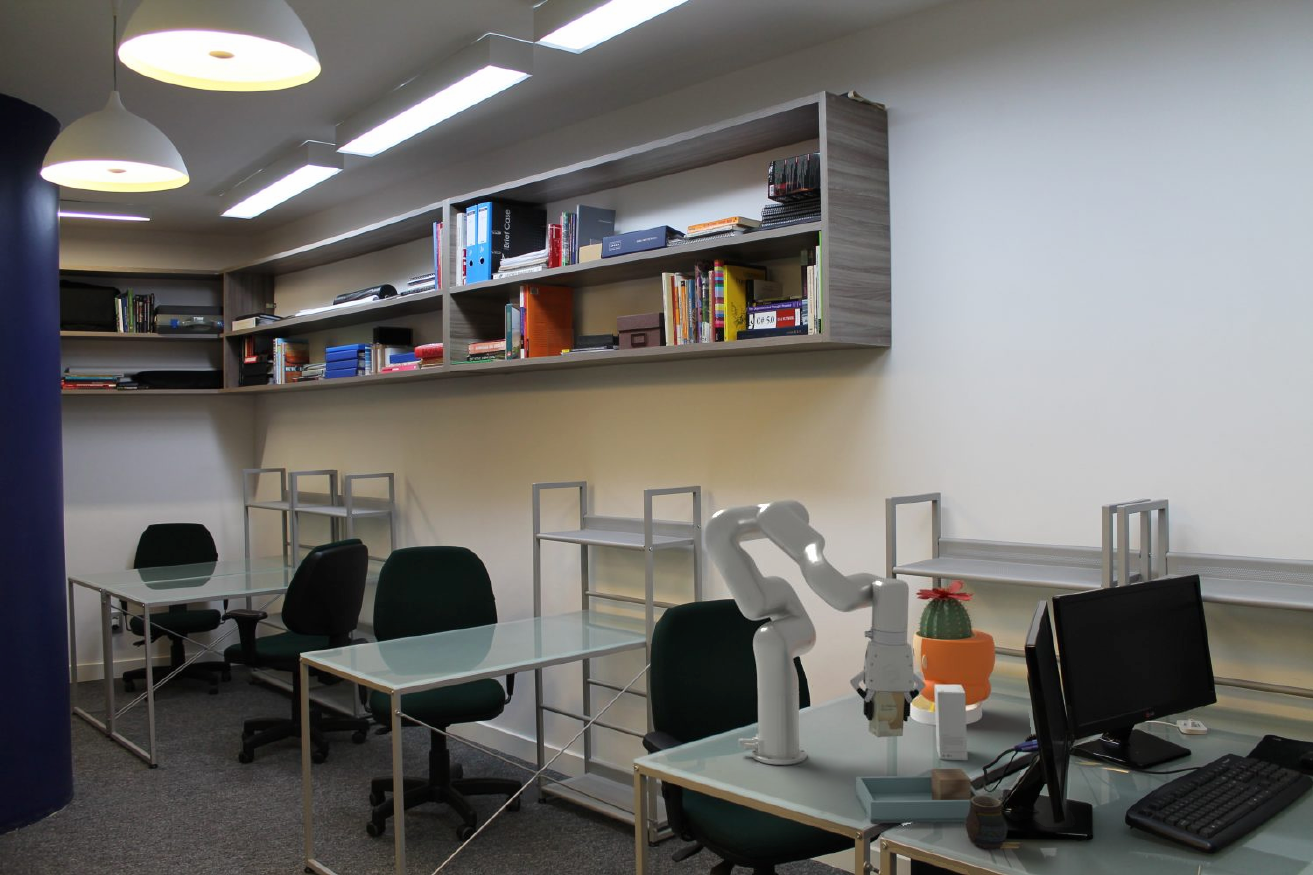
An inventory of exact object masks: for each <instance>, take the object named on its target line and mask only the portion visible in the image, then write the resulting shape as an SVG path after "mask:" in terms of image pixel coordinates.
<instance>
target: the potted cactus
mask: <svg viewBox="0 0 1313 875" xmlns="http://www.w3.org/2000/svg"><path fill="white" fill-rule="evenodd" d="M963 585H964V582H962V581H961V580H954V581H953V583H951V584H950V585H949V586H946V587H945V588H944V587H943V586H941V588H940V586H938V587H937V588H935V587H934V588H931V589H918V591H919V592H916V593H915V595H916V596H918V597H917V599H919V600H927V601H928V602H927V604H926V605H925V607H921V609H922V612H919V614H920V615H921V617H919V616H918V622H917V625H919V627H918V629H917V630H916V631H914V634H913V638H912V639H913V642H912V655H913V657H914V660H915V663H916V665H917V668H918V670H919V672H920V673H921V674H922V676H923V678H924V679H923V680H922V681H923V682H924V683H925V684H926V686H925V688H924V689H923V690H922V691H921V692H920V693H919V694H921V695H918V696H917V697H915V698H914V699H913V701H912V703H910V718H911V719H912V720H914V721H915V722H918V723H922V724H925V725H931V726H936V718H935V689H934V687H935V685H962V687H963V689H964V692H965V703H966V725H969V724H972V723H973V724H974V723H976V722H977V721H979V720H981V719H982V717H983V701H986V700H988V698H989V697H990V696H991V693H992V685H991V682H990V677H991V675H992V673H993V671H994V667H995V663H996V648H995V641H994V637H993V635H990V634H989V633H986V632H983V631H981V630H980V631H979V630H975V629H973V622H972V618H971V617H972V616H971V614H970V612H969V609H968V608H966V603H965V602H967V601H970V600H972V596H973V595H974V594H973V592H972V593H968V594H967V592H959V591H960V590H961V589H962V588H963ZM959 600H960V601H959Z"/></svg>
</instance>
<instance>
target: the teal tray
mask: <svg viewBox="0 0 1313 875" xmlns="http://www.w3.org/2000/svg"><path fill="white" fill-rule="evenodd" d="M855 780H856V782H855V784H856V789H855V790H856V794H855V795H856V798H857V799H858V801H859V804H860V805H861V807H862V809H863V811H864V812H865V814H866V816H867V819H868V820H869V822H870V824H904V823H906V824H912V823H913V824H914V823H916V824H919V823H922V824H923V823H926V824H927V823H929V824H930V823H966V819H967V816H968V814H969V810H970V802H971V801H970V800H932V775H899V776H898V775H895V776H892V775H891V776H888V775H887V776H885V775H884V776H878V775H877V776H856V777H855ZM974 796H981V794H979V792H978V791H977V790H976V789H975V788H974V787H973V785H971V798H972V797H974Z"/></svg>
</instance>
